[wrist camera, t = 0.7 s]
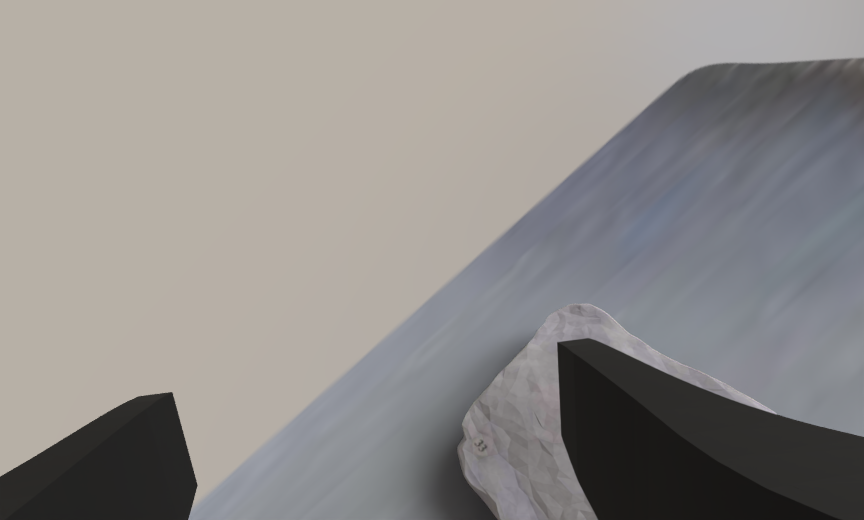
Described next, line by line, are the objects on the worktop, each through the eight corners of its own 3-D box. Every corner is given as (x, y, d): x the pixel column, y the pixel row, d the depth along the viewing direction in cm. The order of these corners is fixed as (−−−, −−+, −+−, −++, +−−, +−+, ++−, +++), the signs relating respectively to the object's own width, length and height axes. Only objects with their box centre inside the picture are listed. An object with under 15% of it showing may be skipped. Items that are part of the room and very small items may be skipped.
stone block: (685, 707, 20) (827, 473, 22) (690, 731, 16) (862, 445, 18) (444, 482, 27) (570, 318, 29) (407, 461, 23) (556, 272, 25)
